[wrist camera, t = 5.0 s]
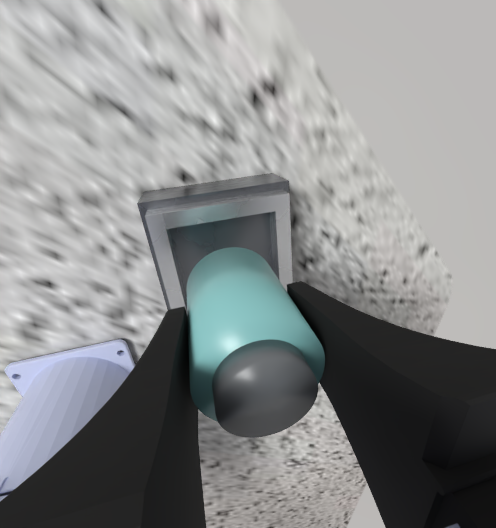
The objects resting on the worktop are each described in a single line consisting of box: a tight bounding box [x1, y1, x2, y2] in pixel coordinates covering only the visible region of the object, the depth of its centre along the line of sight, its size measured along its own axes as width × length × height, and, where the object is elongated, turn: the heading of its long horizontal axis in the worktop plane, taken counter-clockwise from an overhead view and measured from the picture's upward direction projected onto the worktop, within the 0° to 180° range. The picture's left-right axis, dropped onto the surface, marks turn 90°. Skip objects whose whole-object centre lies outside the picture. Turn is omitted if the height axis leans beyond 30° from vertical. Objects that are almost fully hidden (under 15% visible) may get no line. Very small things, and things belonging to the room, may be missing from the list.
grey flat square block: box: [137, 173, 293, 313], centre depth 17 cm, size 8×8×4 cm
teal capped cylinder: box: [186, 247, 325, 437], centre depth 10 cm, size 4×4×6 cm
